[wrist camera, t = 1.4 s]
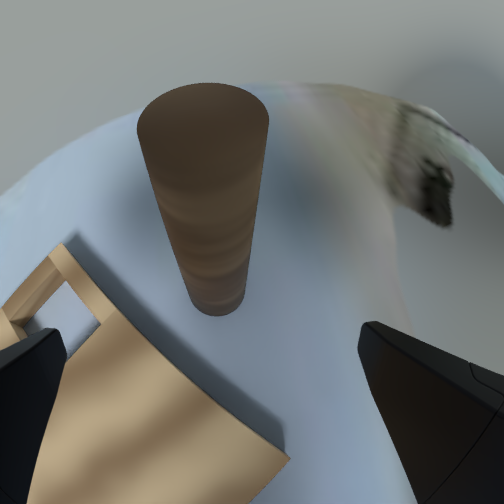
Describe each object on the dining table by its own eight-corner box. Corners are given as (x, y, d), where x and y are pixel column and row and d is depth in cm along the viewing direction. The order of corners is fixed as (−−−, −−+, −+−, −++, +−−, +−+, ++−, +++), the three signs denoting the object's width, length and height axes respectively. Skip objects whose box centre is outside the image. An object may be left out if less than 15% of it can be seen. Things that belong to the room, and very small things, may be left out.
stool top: (285, 453, 17) (290, 458, 15) (105, 599, 9) (98, 609, 7) (71, 253, 22) (61, 242, 20) (-54, 410, 14) (-67, 408, 12)
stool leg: (256, 286, 22) (294, 115, 9) (219, 327, 21) (201, 189, 7) (214, 253, 23) (203, 72, 10) (177, 291, 22) (112, 126, 8)
